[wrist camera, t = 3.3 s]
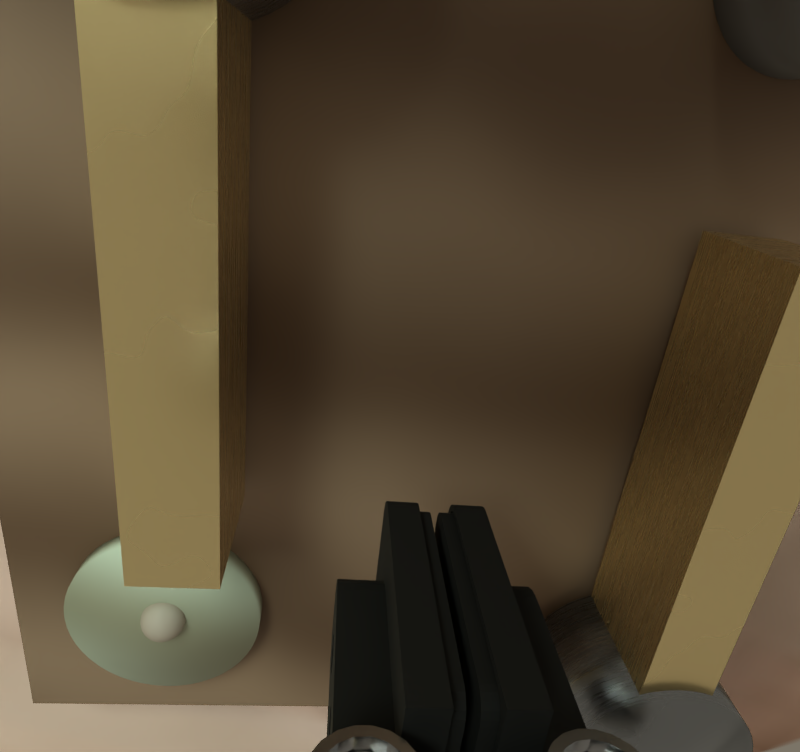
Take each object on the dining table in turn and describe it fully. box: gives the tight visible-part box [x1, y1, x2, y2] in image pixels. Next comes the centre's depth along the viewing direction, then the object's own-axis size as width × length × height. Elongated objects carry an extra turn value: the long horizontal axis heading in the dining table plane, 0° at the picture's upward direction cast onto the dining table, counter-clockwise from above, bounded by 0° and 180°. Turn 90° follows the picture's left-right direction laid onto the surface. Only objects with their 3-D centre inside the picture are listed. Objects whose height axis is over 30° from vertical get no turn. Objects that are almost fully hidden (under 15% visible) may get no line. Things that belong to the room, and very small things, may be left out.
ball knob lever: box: [74, 0, 291, 589], centre depth 9 cm, size 13×4×3 cm, turn 174°
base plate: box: [0, 0, 800, 706], centre depth 12 cm, size 21×18×4 cm
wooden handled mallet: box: [545, 231, 800, 752], centre depth 13 cm, size 13×4×3 cm, turn 174°
